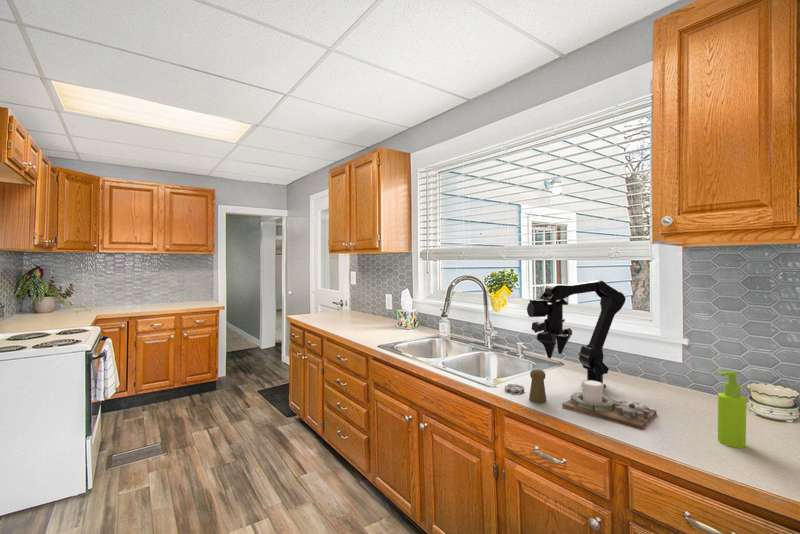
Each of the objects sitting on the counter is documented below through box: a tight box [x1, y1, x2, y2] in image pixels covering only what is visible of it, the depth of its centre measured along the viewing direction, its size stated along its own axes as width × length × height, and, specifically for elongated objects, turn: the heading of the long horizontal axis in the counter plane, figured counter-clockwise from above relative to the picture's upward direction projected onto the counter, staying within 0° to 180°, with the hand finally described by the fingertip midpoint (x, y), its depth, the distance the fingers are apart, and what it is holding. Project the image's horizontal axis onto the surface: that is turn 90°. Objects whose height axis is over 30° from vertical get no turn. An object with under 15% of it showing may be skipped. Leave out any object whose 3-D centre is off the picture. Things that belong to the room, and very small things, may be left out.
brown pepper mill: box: [528, 368, 548, 404], centre depth 137 cm, size 6×6×11 cm
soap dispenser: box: [716, 369, 747, 449], centre depth 105 cm, size 6×7×20 cm
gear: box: [504, 383, 525, 394], centre depth 147 cm, size 7×7×2 cm
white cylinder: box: [581, 379, 605, 404], centre depth 131 cm, size 7×7×7 cm
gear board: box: [562, 391, 657, 431], centre depth 127 cm, size 16×24×4 cm, turn 43°
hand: (554, 355), depth 149 cm, fingers open, 9 cm apart
